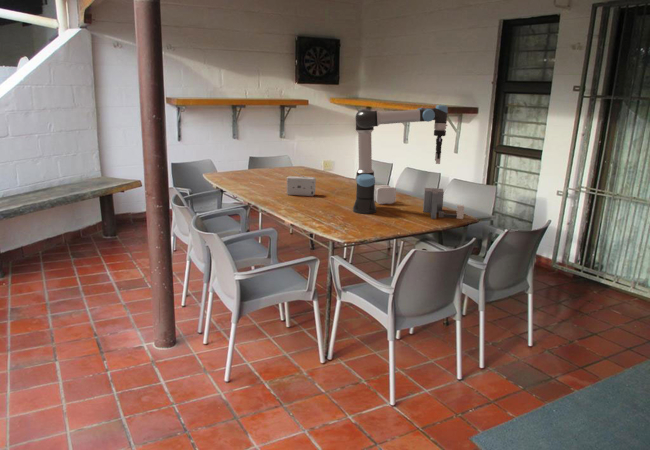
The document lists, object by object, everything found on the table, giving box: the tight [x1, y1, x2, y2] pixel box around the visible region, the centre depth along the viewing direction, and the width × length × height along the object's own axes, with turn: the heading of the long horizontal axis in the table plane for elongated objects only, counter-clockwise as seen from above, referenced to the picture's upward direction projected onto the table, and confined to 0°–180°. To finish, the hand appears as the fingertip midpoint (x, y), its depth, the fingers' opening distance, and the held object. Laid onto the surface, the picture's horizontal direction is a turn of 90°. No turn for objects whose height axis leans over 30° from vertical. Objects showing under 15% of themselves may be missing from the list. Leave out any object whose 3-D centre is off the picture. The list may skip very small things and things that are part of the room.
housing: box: [422, 187, 445, 220], centre depth 339 cm, size 12×29×16 cm, turn 171°
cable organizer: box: [374, 184, 397, 205], centre depth 368 cm, size 15×11×12 cm
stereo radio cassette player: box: [286, 168, 317, 197], centre depth 386 cm, size 21×8×20 cm, turn 84°
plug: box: [438, 204, 465, 220], centre depth 331 cm, size 15×4×8 cm, turn 80°
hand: (437, 162), depth 345 cm, fingers open, 13 cm apart
